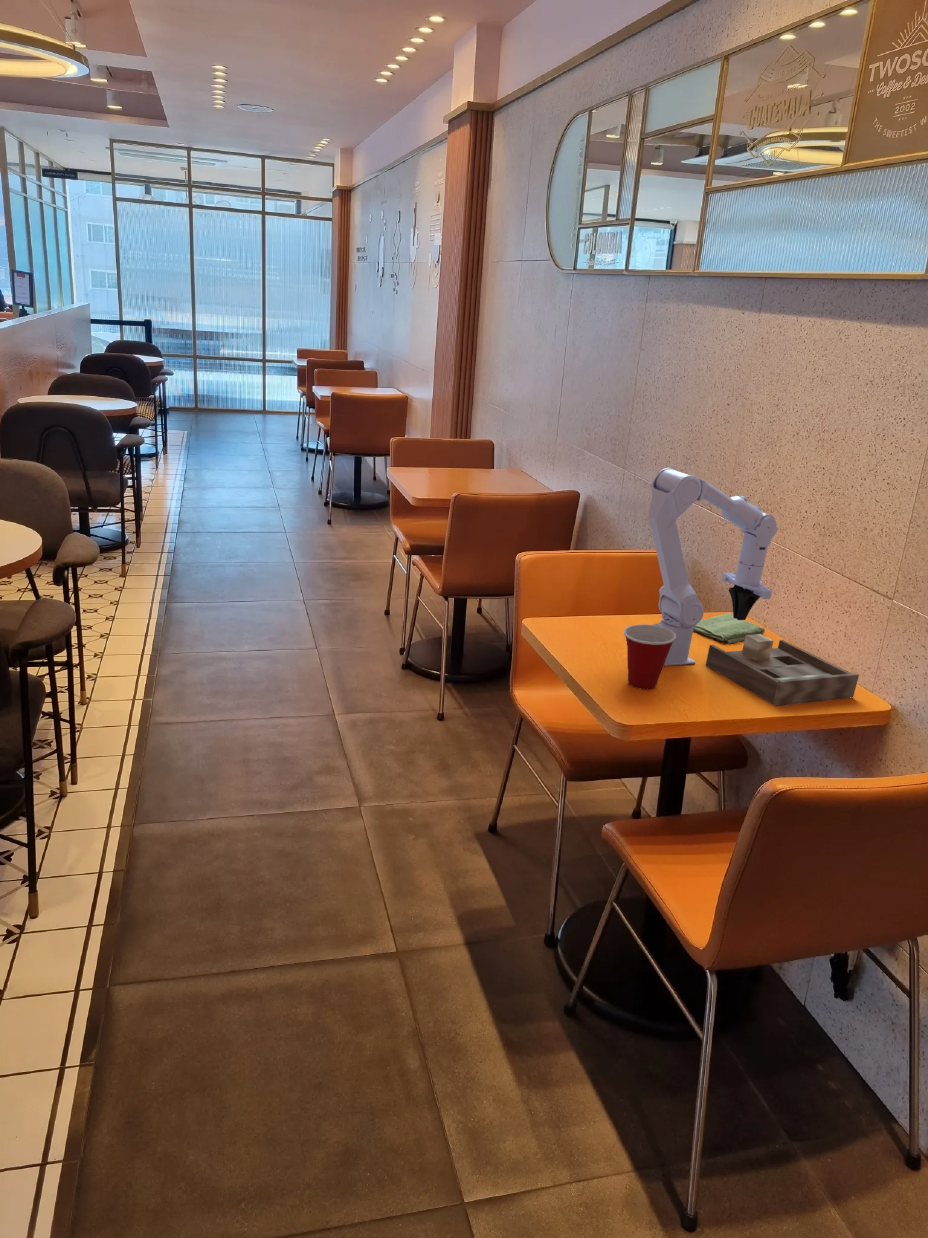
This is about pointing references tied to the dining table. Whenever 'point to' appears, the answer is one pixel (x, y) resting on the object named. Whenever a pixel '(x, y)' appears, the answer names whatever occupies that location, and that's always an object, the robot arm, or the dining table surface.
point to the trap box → (785, 675)
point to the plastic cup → (647, 653)
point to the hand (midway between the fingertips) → (739, 618)
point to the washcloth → (727, 628)
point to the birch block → (757, 646)
